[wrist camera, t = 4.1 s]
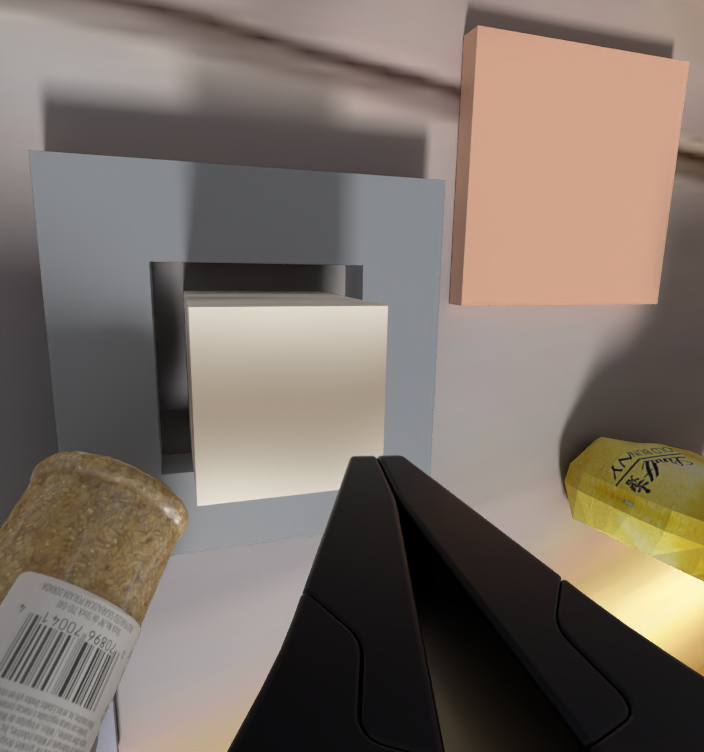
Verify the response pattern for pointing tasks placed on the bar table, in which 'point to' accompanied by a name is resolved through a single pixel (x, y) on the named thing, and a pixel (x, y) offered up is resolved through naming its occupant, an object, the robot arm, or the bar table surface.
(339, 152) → the bar table surface
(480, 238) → the terracotta tile
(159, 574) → the sprinkles bottle
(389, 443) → the collar
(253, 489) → the cream block
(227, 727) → the bar table surface
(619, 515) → the chocolate bunny
